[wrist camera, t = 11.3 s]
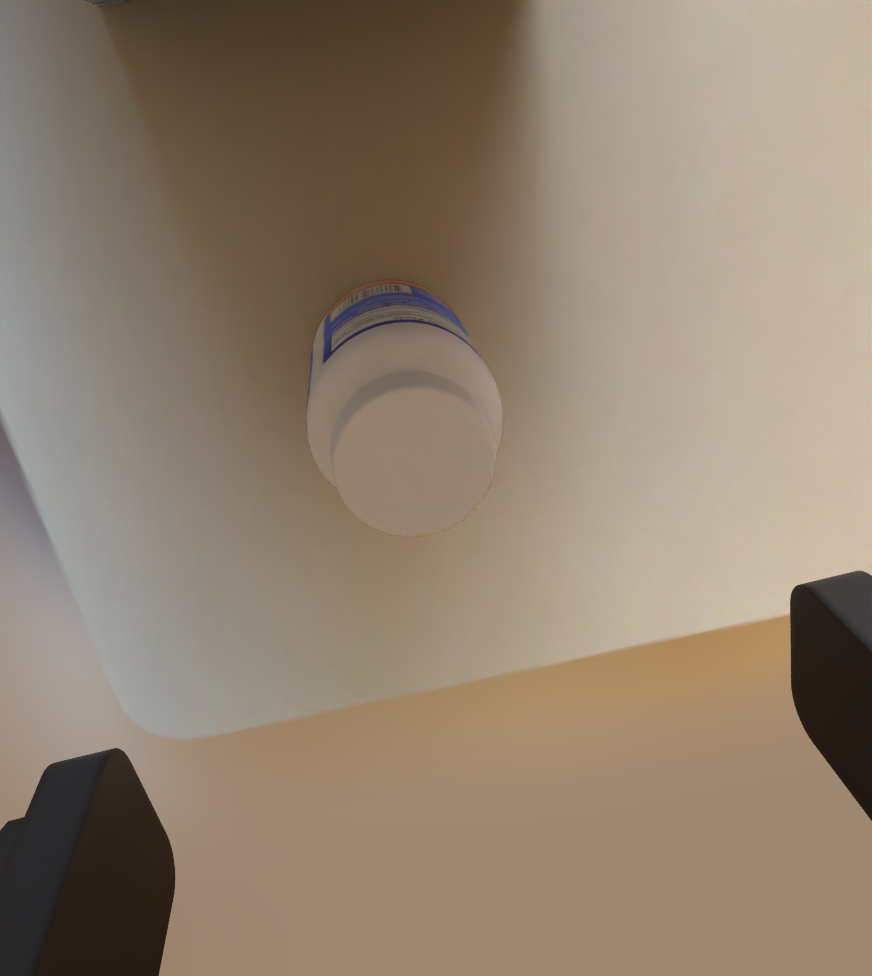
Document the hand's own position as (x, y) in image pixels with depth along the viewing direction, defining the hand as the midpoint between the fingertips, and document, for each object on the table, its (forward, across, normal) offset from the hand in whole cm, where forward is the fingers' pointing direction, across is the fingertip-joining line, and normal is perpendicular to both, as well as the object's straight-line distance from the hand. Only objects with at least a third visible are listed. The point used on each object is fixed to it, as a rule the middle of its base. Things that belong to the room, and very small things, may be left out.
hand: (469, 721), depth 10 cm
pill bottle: (+20, 0, +1) cm, 20 cm away
